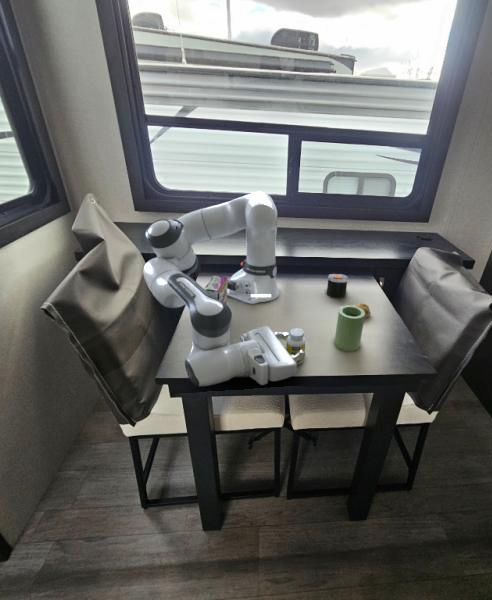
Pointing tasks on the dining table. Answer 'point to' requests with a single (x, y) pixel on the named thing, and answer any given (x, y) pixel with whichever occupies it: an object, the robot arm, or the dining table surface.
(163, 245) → the robot arm
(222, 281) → the candy bar box
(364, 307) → the pastry
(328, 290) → the sushi
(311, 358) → the dining table surface
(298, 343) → the supplement bottle
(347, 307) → the green vase
